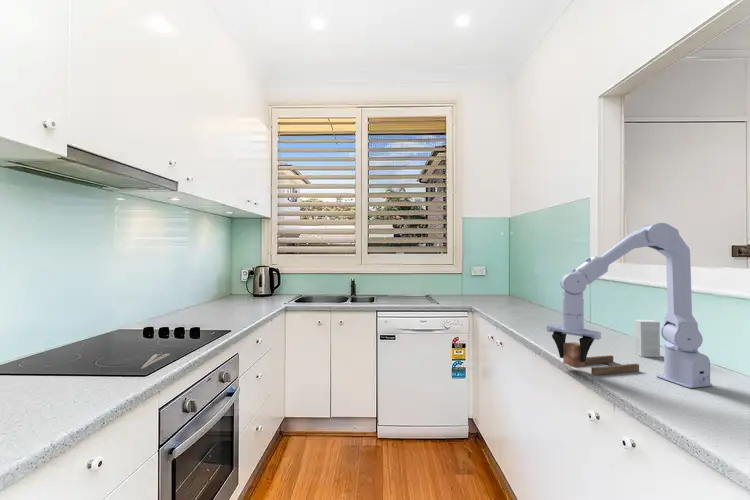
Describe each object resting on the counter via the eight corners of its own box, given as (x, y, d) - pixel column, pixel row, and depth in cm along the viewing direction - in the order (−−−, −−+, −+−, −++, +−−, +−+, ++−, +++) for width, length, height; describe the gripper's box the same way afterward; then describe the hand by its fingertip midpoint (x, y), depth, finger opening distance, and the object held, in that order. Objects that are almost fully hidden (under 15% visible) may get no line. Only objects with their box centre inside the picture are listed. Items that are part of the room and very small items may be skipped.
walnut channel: (639, 371, 112) (639, 364, 112) (594, 375, 109) (594, 368, 109) (610, 361, 122) (610, 355, 122) (568, 364, 118) (568, 358, 118)
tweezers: (156, 356, 128) (156, 351, 127) (171, 356, 128) (170, 351, 128) (127, 378, 110) (126, 371, 110) (144, 378, 111) (143, 371, 111)
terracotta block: (584, 365, 112) (584, 345, 112) (573, 366, 111) (573, 346, 111) (574, 361, 116) (573, 342, 116) (563, 362, 115) (563, 343, 115)
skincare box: (652, 354, 131) (652, 319, 131) (660, 357, 127) (660, 321, 127) (633, 353, 132) (633, 319, 132) (641, 357, 127) (641, 321, 127)
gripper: (604, 315, 110) (604, 362, 110) (553, 309, 121) (553, 351, 121) (596, 318, 105) (595, 367, 105) (543, 311, 116) (543, 356, 116)
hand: (572, 359), depth 113 cm, fingers closed on terracotta block, 5 cm apart
